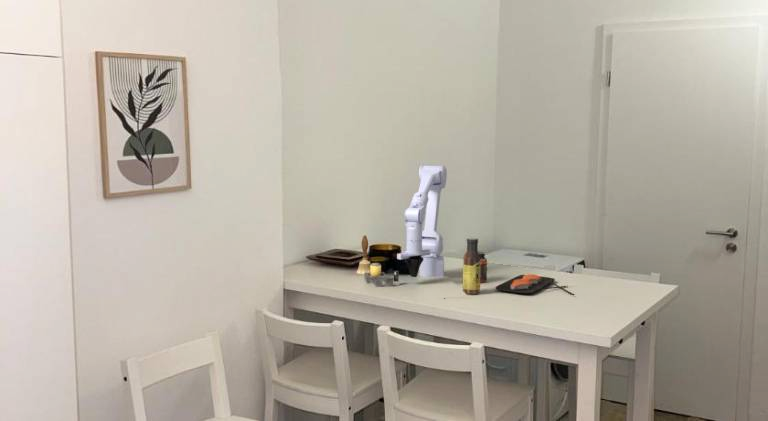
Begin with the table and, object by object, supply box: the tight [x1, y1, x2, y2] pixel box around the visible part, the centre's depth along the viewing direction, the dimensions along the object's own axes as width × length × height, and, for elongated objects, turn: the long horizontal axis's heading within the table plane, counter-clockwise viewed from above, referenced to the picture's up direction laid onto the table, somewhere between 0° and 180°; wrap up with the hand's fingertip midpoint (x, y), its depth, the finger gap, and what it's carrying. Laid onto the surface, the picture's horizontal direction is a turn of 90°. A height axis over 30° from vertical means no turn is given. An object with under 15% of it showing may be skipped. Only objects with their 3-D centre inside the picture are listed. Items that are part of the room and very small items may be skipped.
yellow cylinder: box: [370, 262, 382, 276], centre depth 283 cm, size 4×4×7 cm
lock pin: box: [382, 270, 400, 287], centre depth 276 cm, size 8×2×5 cm, turn 99°
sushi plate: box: [495, 273, 575, 296], centre depth 278 cm, size 29×30×4 cm
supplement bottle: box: [478, 251, 488, 284], centre depth 289 cm, size 6×6×11 cm
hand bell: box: [355, 235, 372, 275], centre depth 298 cm, size 8×8×16 cm
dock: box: [363, 271, 394, 288], centre depth 282 cm, size 17×17×4 cm
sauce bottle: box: [462, 237, 481, 296], centre depth 269 cm, size 7×6×20 cm
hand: (413, 276), depth 277 cm, fingers closed
